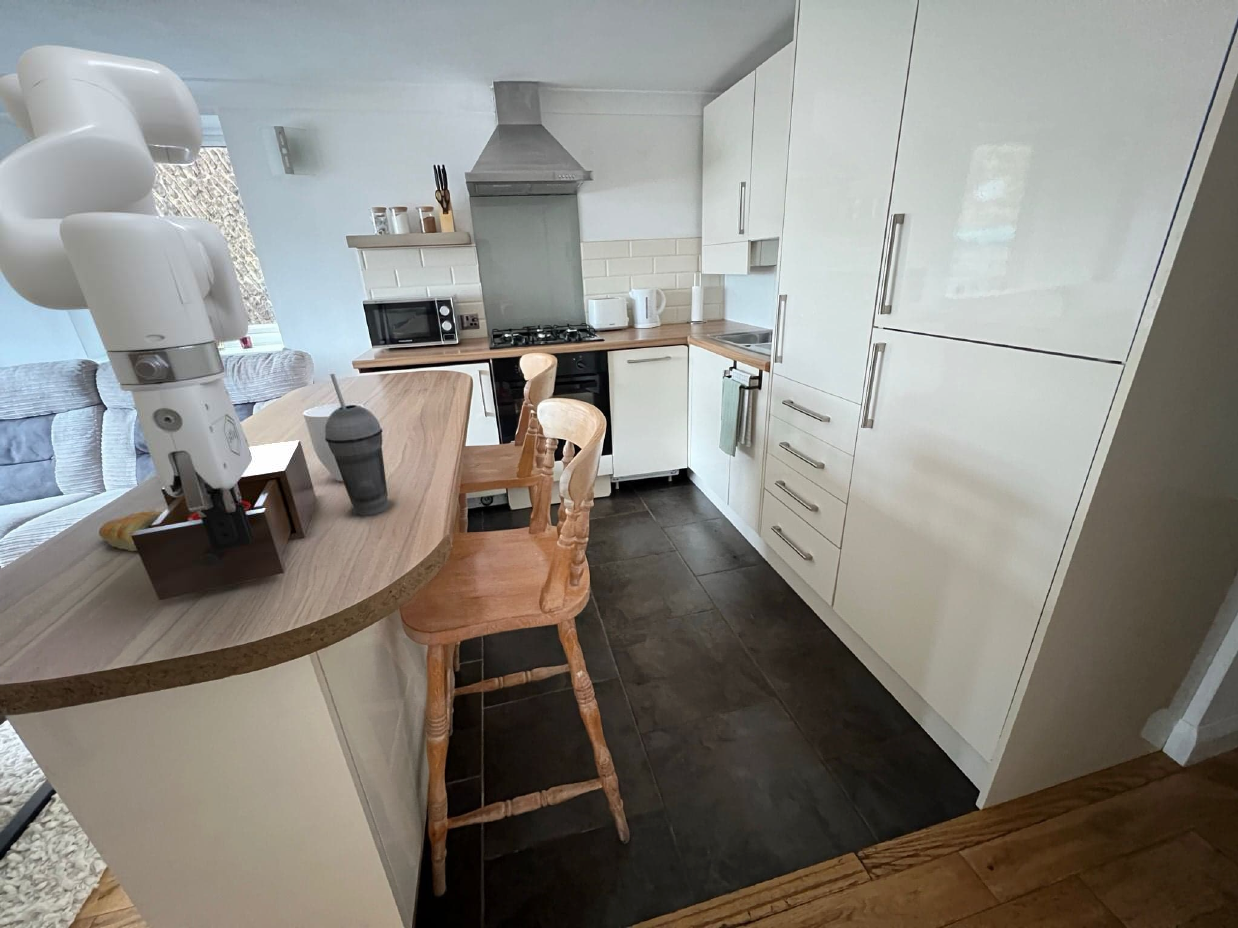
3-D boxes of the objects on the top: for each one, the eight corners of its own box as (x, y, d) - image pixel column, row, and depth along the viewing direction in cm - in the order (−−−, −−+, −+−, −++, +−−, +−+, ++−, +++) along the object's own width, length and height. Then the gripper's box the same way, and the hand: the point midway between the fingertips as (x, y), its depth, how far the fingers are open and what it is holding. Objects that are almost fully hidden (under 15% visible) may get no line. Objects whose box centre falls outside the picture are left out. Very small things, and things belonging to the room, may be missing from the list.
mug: (373, 482, 84) (356, 412, 80) (314, 489, 82) (295, 418, 78) (385, 459, 95) (372, 396, 90) (334, 464, 93) (318, 401, 88)
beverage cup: (377, 521, 71) (344, 379, 63) (332, 518, 72) (295, 379, 65) (408, 499, 77) (381, 368, 70) (366, 496, 79) (335, 368, 71)
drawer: (282, 578, 56) (261, 516, 53) (154, 607, 52) (125, 541, 49) (299, 526, 68) (283, 473, 65) (196, 546, 64) (174, 490, 61)
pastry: (85, 547, 66) (73, 522, 65) (140, 524, 73) (130, 500, 71) (140, 553, 64) (129, 527, 63) (192, 528, 71) (183, 504, 69)
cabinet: (304, 537, 67) (284, 470, 64) (188, 560, 63) (160, 489, 59) (316, 498, 79) (300, 440, 75) (219, 515, 74) (197, 454, 71)
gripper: (194, 375, 40) (262, 571, 47) (240, 352, 53) (288, 508, 60) (72, 386, 38) (161, 592, 44) (151, 359, 51) (211, 522, 57)
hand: (234, 544), depth 52 cm, fingers closed
